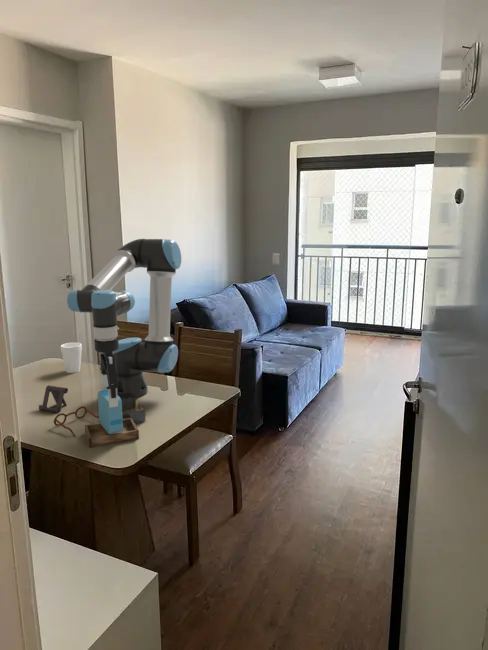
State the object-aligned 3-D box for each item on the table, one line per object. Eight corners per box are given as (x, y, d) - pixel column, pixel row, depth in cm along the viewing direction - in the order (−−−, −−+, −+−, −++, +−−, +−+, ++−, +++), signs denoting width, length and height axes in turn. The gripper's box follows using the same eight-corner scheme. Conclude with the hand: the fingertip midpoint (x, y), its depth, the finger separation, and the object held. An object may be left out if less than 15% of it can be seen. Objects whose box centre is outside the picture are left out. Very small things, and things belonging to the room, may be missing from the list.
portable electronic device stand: (38, 410, 186) (36, 390, 184) (52, 403, 193) (51, 383, 191) (57, 413, 183) (55, 393, 181) (71, 406, 190) (69, 386, 188)
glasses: (86, 416, 182) (85, 404, 181) (107, 426, 174) (106, 413, 173) (53, 428, 172) (52, 415, 170) (74, 438, 164) (73, 424, 163)
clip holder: (135, 405, 191) (135, 396, 190) (145, 421, 177) (145, 411, 176) (113, 409, 188) (113, 399, 187) (121, 425, 173) (121, 414, 172)
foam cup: (58, 373, 230) (56, 347, 227) (68, 367, 238) (67, 342, 236) (77, 374, 228) (75, 348, 225) (86, 368, 237) (85, 343, 234)
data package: (123, 432, 160) (121, 398, 158) (109, 435, 158) (107, 401, 155) (112, 420, 170) (110, 387, 168) (99, 422, 168) (97, 390, 165)
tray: (131, 425, 173) (131, 417, 172) (139, 438, 163) (138, 430, 162) (85, 433, 167) (84, 425, 166) (89, 447, 156) (88, 439, 156)
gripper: (125, 346, 148) (128, 411, 153) (111, 328, 170) (114, 385, 175) (100, 349, 145) (104, 415, 150) (89, 330, 167) (93, 388, 172)
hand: (110, 399), depth 162 cm, fingers open, 13 cm apart
